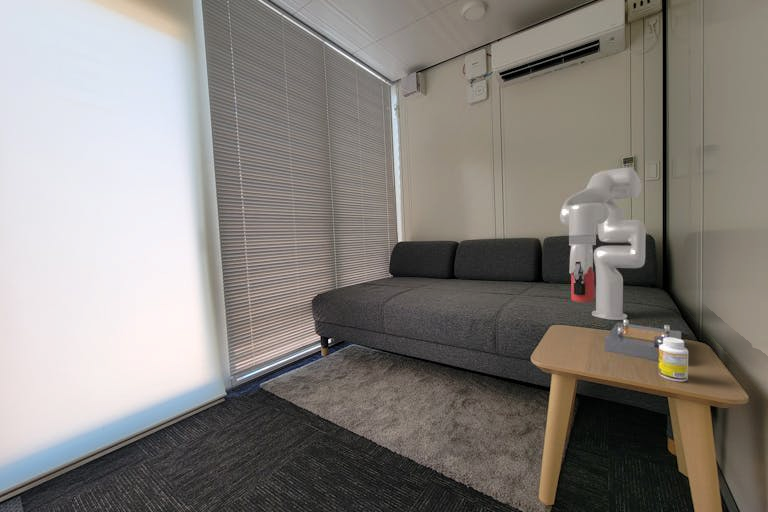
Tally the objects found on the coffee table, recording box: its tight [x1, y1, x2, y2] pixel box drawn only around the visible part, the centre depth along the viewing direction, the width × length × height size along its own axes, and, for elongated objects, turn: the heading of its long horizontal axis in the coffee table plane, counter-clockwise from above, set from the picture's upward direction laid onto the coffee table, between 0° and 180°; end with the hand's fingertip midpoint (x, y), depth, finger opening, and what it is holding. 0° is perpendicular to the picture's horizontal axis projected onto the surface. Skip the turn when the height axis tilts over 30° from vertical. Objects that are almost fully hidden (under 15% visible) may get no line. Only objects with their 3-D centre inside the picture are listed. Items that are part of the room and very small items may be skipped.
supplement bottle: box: [658, 337, 689, 382], centre depth 78 cm, size 6×6×10 cm
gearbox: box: [604, 319, 682, 362], centre depth 99 cm, size 25×17×7 cm
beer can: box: [570, 267, 595, 304], centre depth 101 cm, size 7×7×12 cm
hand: (582, 292), depth 102 cm, fingers closed on beer can, 6 cm apart
